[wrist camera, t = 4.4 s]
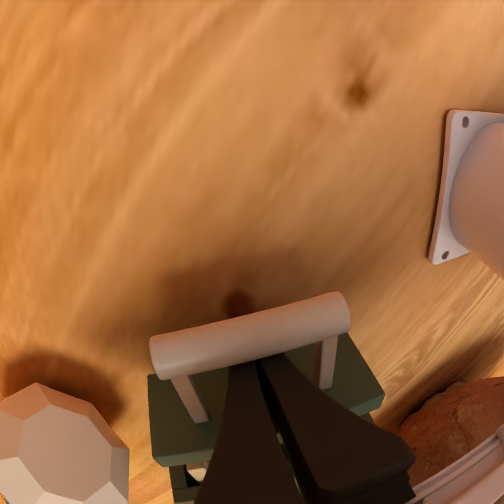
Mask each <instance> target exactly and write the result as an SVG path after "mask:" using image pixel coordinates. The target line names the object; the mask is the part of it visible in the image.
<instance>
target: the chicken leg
mask: <svg viewBox="0 0 504 504" xmlns="http://www.w3.org/2000/svg"><path fill="white" fill-rule="evenodd" d="M128 477H129V448H128V447H127V446H126V445H125V443H124V442H123V441H122V440H121V439H120V438H119V437H118V435H117V434H116V433H115V432H114V431H113V429H112V428H111V427H110V426H109V425H108V423H107V422H106V421H105V420H104V418H103V417H102V416H101V415H100V413H99V412H98V411H97V409H96V408H95V407H94V405H93V404H92V403H90V402H87V401H84V400H81V399H78V398H76V397H73V396H70V395H67V394H64V393H62V392H59V391H57V390H54V389H51V388H49V387H46V386H44V385H41V384H39V383H37V382H35V383H33V384H32V385H30V386H28V387H26V388H24V389H22V390H20V391H19V392H17V393H15V394H13V395H11V396H9V397H7V398H5V399H3V400H2V401H0V492H1V493H2V494H3V496H4V497H5V498H6V499H7V501H8V502H9V503H10V504H127V503H128Z"/></svg>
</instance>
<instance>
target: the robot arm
mask: <svg viewBox="0 0 504 504" xmlns="http://www.w3.org/2000/svg"><path fill="white" fill-rule="evenodd" d="M462 121H463V123H462ZM470 252H471V253H472V254H474V255H475V256H476V257H477V258H478V259H480V260H481V261H482V262H483V263H484V264H486V265H487V266H488V267H489V268H490V269H491V270H493V271H494V272H495V273H496V274H497V275H498V276H499V277H501V278H502V279H503V280H504V114H501V113H492V112H481V111H469V110H451V111H450V112H449V113H448V115H447V119H446V134H445V148H444V159H443V169H442V178H441V186H440V193H439V200H438V207H437V213H436V219H435V225H434V230H433V236H432V241H431V246H430V251H429V255H428V260H429V262H431V263H432V264H433V265H438V264H440V263H443V262H446V261H449V260H452V259H454V258H457V257H460V256H462V255H465V254H468V253H470ZM261 391H262V392H261ZM262 394H263V395H262ZM263 396H264V398H265V401H266V403H267V405H268V407H269V410H270V412H271V414H272V416H273V419H274V421H275V423H276V425H277V428H278V430H279V432H280V435H281V437H282V440H283V443H284V446H285V449H286V452H287V455H288V457H289V460H290V463H291V466H292V469H293V472H294V475H295V478H296V481H297V484H298V487H299V489H298V487H297V485H296V482H295V480H294V477H293V475H292V473H291V470H290V468H289V465H288V463H287V460H286V458H285V455H284V453H283V450H282V448H281V445H280V443H279V440H278V437H277V435H276V432H275V429H274V427H273V424H272V421H271V419H270V416H269V413H268V410H267V407H266V405H265V402H264V399H263ZM416 459H417V458H416V456H415V454H414V452H413V450H412V449H411V448H410V446H409V445H408V444H407V443H406V442H405V440H404V439H403V438H402V437H400V436H398V435H396V434H394V433H391V432H389V431H387V430H385V429H383V428H381V427H378V426H377V425H375V424H373V423H371V422H369V421H367V420H365V419H364V418H362V417H360V416H359V415H357V414H355V413H354V412H352V411H351V410H349V409H347V408H346V407H344V406H343V405H341V404H340V403H339V402H337V401H336V400H334V399H333V398H332V397H330V396H329V395H328V394H326V393H325V392H324V391H323V390H321V389H320V388H319V387H318V386H317V385H316V384H314V383H313V382H312V381H311V380H310V379H309V378H308V377H307V376H306V375H305V374H304V373H303V372H302V371H300V370H299V369H298V368H297V366H296V365H295V364H294V363H293V362H292V361H291V360H290V359H289V358H288V357H287V356H286V355H285V353H284V352H282V353H279V354H275V355H271V356H268V357H264V358H260V359H256V360H253V361H249V362H245V363H241V364H237V365H233V366H229V374H228V386H227V393H226V400H225V407H224V412H223V417H222V421H221V426H220V430H219V434H218V437H217V441H216V445H215V448H214V451H213V454H212V457H211V460H210V463H209V465H208V468H207V471H206V474H205V476H204V479H203V481H202V483H201V485H200V488H199V490H198V492H197V494H196V497H195V499H194V504H414V503H416V502H418V501H419V500H420V501H419V502H418V503H417V504H493V503H494V502H495V501H496V500H497V499H499V498H500V497H501V496H502V495H503V494H504V423H503V424H502V425H501V426H500V427H499V428H498V429H497V430H496V432H495V433H494V434H492V435H491V436H490V437H489V438H487V439H486V440H485V441H483V442H482V443H481V444H479V445H478V446H477V447H475V448H474V449H473V450H471V451H470V452H468V453H467V454H466V455H464V456H463V457H461V458H460V459H458V460H457V461H455V462H454V463H452V464H451V465H449V466H448V467H446V468H445V469H443V470H441V471H440V472H438V473H437V474H435V475H433V476H432V477H430V478H428V479H427V480H425V481H423V482H421V483H420V484H418V485H416V486H414V487H411V485H410V483H409V480H410V476H409V475H408V473H407V470H408V469H409V468H410V467H411V466H412V465H413V464H414V463H415V461H416ZM299 490H300V491H299ZM300 493H301V494H300Z"/></svg>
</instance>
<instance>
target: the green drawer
mask: <svg viewBox="0 0 504 504" xmlns="http://www.w3.org/2000/svg"><path fill="white" fill-rule="evenodd" d="M350 328H351V315H350V310H349V307H348V304H347V302H346V300H345V298H344V296H343V295H342V294H341V293H340V292H338V291H333V292H330V293H326V294H323V295H319V296H316V297H312V298H308V299H305V300H301V301H297V302H294V303H290V304H286V305H282V306H279V307H275V308H271V309H267V310H263V311H259V312H255V313H251V314H247V315H243V316H239V317H235V318H231V319H227V320H223V321H218V322H214V323H210V324H205V325H201V326H197V327H192V328H188V329H183V330H179V331H174V332H169V333H164V334H160V335H155V336H152V337H151V338H150V340H149V350H150V356H151V361H152V364H153V367H154V370H155V372H156V373H155V374H149V375H148V376H147V379H148V402H149V419H150V433H151V445H152V456H153V459H154V460H155V461H157V462H158V463H159V464H160V465H161V466H162V467H170V466H177V465H184V464H186V467H187V471H188V472H189V473H190V474H191V475H192V476H193V477H194V478H195V479H196V480H197V481H198V482H199V483H200V484H201V483H202V481H203V479H204V476H205V474H206V471H207V468H208V465H209V463H210V460H211V457H212V454H213V451H214V448H215V445H216V441H217V437H218V434H219V430H220V426H221V421H222V417H223V412H224V407H225V400H226V393H227V386H228V374H229V366H233V365H237V364H241V363H245V362H249V361H253V360H256V359H260V358H264V357H268V356H271V355H275V354H279V353H282V352H284V353H285V355H286V356H287V357H288V358H289V359H290V360H291V361H292V362H293V363H294V364H295V365H296V366H297V368H298V369H299V370H300V371H302V372H303V373H304V374H305V375H306V376H307V377H308V378H309V379H310V380H311V381H312V382H313V383H314V384H316V385H317V386H318V387H319V388H320V389H321V390H323V391H324V392H325V393H326V394H328V395H329V396H330V397H332V398H333V399H334V400H336V401H337V402H339V403H340V404H341V405H343V406H344V407H346V408H347V409H349V410H351V411H352V412H354V413H355V414H357V415H359V416H361V415H363V414H366V413H368V412H371V411H373V410H375V409H378V408H379V407H380V406H381V404H382V401H383V399H384V396H385V393H384V391H383V389H382V388H381V386H380V384H379V383H378V381H377V379H376V378H375V376H374V375H373V373H372V371H371V370H370V368H369V366H368V365H367V363H366V362H365V360H364V358H363V357H362V355H361V354H360V352H359V350H358V349H357V347H356V346H355V344H354V342H353V341H352V339H351V338H350V336H349V335H348V333H347V332H348V331H349V330H350ZM261 392H262V391H261ZM262 395H263V394H262ZM263 399H264V402H265V405H266V407H267V410H268V413H269V416H270V419H271V421H272V424H273V427H274V429H275V432H276V435H277V437H278V440H279V443H280V445H281V448H282V450H283V453H284V455H285V458H286V460H287V463H288V465H289V466H290V465H291V463H290V460H289V457H288V455H287V452H286V449H285V446H284V443H283V440H282V437H281V435H280V432H279V430H278V428H277V425H276V423H275V421H274V419H273V416H272V414H271V412H270V410H269V407H268V405H267V403H266V401H265V398H264V396H263Z"/></svg>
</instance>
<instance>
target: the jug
mask: <svg viewBox="0 0 504 504" xmlns="http://www.w3.org/2000/svg"><path fill="white" fill-rule="evenodd" d="M503 423H504V377H494V378H487V379H481V380H477V381H474V382H471V383H469V382H467V381H458V382H455V383H454V384H452V385H450V386H449V387H448V388H447V389H446V391H445V392H443V393H438V394H436V395H434V396H433V397H431V398H430V399H428V400H427V401H426V402H425V403H424V405H423V406H422V407H421V409H420V410H419V411H417V412H416V413H414V414H412V415H410V416H408V417H407V419H406V420H405V421H404V422H403V423H402V424H401V425H400V426H399V432H400V435H399V436H400V437H402V438H403V439H404V440H405V442H406V443H407V444H408V445H409V446H410V448H411V449H412V450H413V452H414V454H415V456H416V458H417V459H416V461H415V463H414V464H413V465H412V466H411V467H410V468H409V469H408V470H407V473H408V475H409V476H410V480H409V483H410V485H411V487H414V486H416V485H418V484H420V483H421V482H423V481H425V480H427V479H428V478H430V477H432V476H433V475H435V474H437V473H438V472H440V471H441V470H443V469H445V468H446V467H448V466H449V465H451V464H452V463H454V462H455V461H457V460H458V459H460V458H461V457H463V456H464V455H466V454H467V453H468V452H470V451H471V450H473V449H474V448H475V447H477V446H478V445H479V444H481V443H482V442H483V441H485V440H486V439H487V438H489V437H490V436H491V435H492V434H494V433H495V432H496V430H497V429H498V428H499V427H500V426H501V425H502V424H503ZM419 501H420V500H419ZM419 501H418V502H419ZM418 502H416V503H414V504H417V503H418ZM493 504H504V494H503V495H502V496H501V497H500V498H499V499H497V500H496V501H495V502H494V503H493Z"/></svg>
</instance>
